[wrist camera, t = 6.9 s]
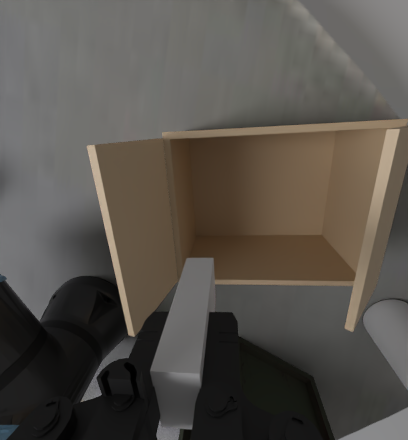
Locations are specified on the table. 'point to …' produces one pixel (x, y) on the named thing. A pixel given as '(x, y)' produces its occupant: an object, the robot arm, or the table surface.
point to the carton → (275, 199)
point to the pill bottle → (390, 333)
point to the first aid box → (277, 388)
